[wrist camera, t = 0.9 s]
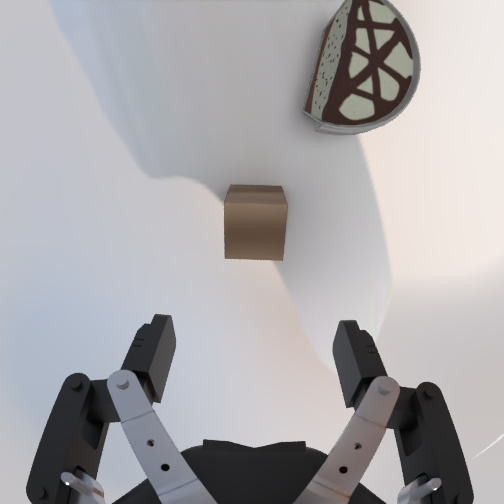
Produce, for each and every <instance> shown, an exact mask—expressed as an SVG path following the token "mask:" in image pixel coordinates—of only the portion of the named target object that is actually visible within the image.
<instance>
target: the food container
mask: <svg viewBox="0 0 504 504" xmlns="http://www.w3.org/2000/svg"><path fill="white" fill-rule="evenodd" d="M420 71H421V63H420V54H419V49H418V45H417V42H416V40H415V37H414V34H413V32H412V30H411V28H410V26H409V25H408V23H407V21H406V20H405V19H404V17H403V16H402V14H401V13H400V12H399V11H398V10H397V9H396V8H395V7H394V6H393V4H391V3H390V2H389V1H388V0H345V1H344V2H343V4H342V5H341V6H340V8H339V9H338V10H337V12H336V13H335V14H334V16H333V17H332V19H331V20H330V21H329V23H328V24H327V25H326V27H325V28H324V31H323V35H322V39H321V42H320V46H319V50H318V54H317V58H316V62H315V65H314V69H313V73H312V77H311V80H310V84H309V88H308V92H307V95H306V99H305V103H304V107H303V110H302V112H303V113H304V114H306V115H308V116H309V117H311V118H312V119H314V120H315V121H317V122H318V123H320V124H321V126H320V127H318V128H316V129H315V131H317V132H321V133H326V134H334V135H352V134H359V133H363V132H367V131H370V130H372V129H375V128H378V127H380V126H383V125H385V124H387V123H388V122H390V121H392V120H393V119H395V118H396V117H397V116H398V115H399V114H400V113H402V112H403V110H404V109H405V108H406V107H407V105H408V104H409V102H410V101H411V99H412V97H413V95H414V94H415V92H416V89H417V86H418V83H419V79H420Z"/></svg>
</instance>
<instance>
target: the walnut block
mask: <svg viewBox="0 0 504 504" xmlns="http://www.w3.org/2000/svg"><path fill="white" fill-rule="evenodd" d="M287 208H288V204H287V201H286V198H285V195H284V192H283V189H282V186H264V185H230V188H229V190H228V193H227V196H226V199H225V202H224V236H225V237H224V241H225V242H224V243H225V259H253V260H283V255H284V244H285V232H286V220H287Z"/></svg>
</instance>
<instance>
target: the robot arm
mask: <svg viewBox="0 0 504 504" xmlns="http://www.w3.org/2000/svg"><path fill="white" fill-rule="evenodd" d="M175 348H176V337H175V332H174V327H173V322H172V317H171V315H161V314H155V315H154V318H153V320H152V322H151V324H144V325H143V326H142V327H141V328H140V329H139V330H138V331H137V333H136V335H135V337H134V340H133V342H132V344H131V346H130V349H129V351H128V353H127V355H126V358H125V360H124V363H123V365H122V367H121V369H120V370H119V371H116V372H114V373H113V374H111V375H110V376H109V378H108V379H105V380H93V381H92V380H91V381H90V380H89V378H88V377H87V376H86V375H85V374H83V373H74V374H72V375H70V376H68V377H67V378H66V379H65V381H64V383H63V385H62V388H61V390H60V392H59V394H58V397H57V399H56V402H55V404H54V406H53V409H52V411H51V414H50V416H49V419H48V421H47V424H46V427H45V429H44V432H43V435H42V438H41V441H40V443H39V446H38V449H37V452H36V455H35V458H34V461H33V465H32V468H31V471H30V475H29V478H28V482H27V486H26V493H27V496H28V499H29V500H30V502H31V503H32V504H105V501H104V491H103V488H102V486H101V485H100V484H99V483H98V482H97V481H96V477H97V472H98V467H99V463H100V459H101V455H102V451H103V446H104V442H105V439H106V435H107V431H108V427H109V423H110V422H122V423H121V425H122V428H123V430H124V432H125V434H126V436H127V439H128V441H129V443H130V445H131V447H132V449H133V451H134V453H135V455H136V457H137V459H138V461H139V463H140V465H141V467H142V468H143V470H144V472H145V474H146V476H147V477H148V478H147V479H146V480H144V481H143V482H142V483H140V484H139V485H138V486H136V487H135V488H133V489H132V490H131V491H129V492H128V493H126V494H125V495H124V496H122V497H121V498H119V499H118V500H116V501H115V502H114V503H112V504H386V503H385V502H384V501H382V500H381V499H380V498H378V497H377V496H376V495H375V494H373V493H372V492H371V491H370V490H368V489H367V488H366V487H365V486H364V485H362V484H361V483H360V482H359V481H360V480H361V478H362V476H363V475H364V473H365V471H366V469H367V467H368V466H369V464H370V462H371V460H372V458H373V456H374V454H375V452H376V450H377V449H378V446H379V445H380V443H381V440H382V438H383V436H384V434H385V432H386V429H387V428H389V429H394V434H395V438H396V443H397V447H398V451H399V457H400V461H401V467H402V472H403V477H404V483H405V487H403V489H401V491H400V492H399V495H398V502H397V504H472V503H473V499H474V494H473V490H472V485H471V481H470V477H469V473H468V469H467V466H466V462H465V458H464V455H463V452H462V449H461V446H460V442H459V439H458V436H457V433H456V430H455V427H454V424H453V421H452V418H451V416H450V413H449V410H448V408H447V405H446V402H445V400H444V397H443V395H442V392H441V390H440V389H439V387H438V386H437V385H435V384H434V383H431V382H423V383H421V384H420V385H419V386H418V387H417V388H416V389H414V388H407V387H401V386H399V385H398V383H397V382H396V381H395V380H394V379H393V378H391V377H388V375H387V373H386V371H385V368H384V366H383V363H382V360H381V358H380V355H379V353H378V350H377V348H376V347H375V343H374V341H373V338H372V336H371V335H370V334H369V333H368V332H367V331H366V330H360V329H359V326H358V324H357V322H356V320H341V321H340V322H339V325H338V328H337V332H336V335H335V338H334V342H333V356H334V360H335V364H336V368H337V372H338V376H339V380H340V384H341V388H342V392H343V396H344V400H345V405H346V408H350V407H354V409H355V413H354V414H353V416H352V418H351V420H350V421H349V423H348V425H347V426H346V428H345V430H344V431H343V433H342V435H341V436H340V438H339V439H338V441H337V442H336V444H335V445H334V447H333V448H332V450H331V451H330V453H329V454H328V455H327V454H325V453H323V452H321V451H318V450H316V449H313V448H309V447H306V443H305V441H298V442H279V443H275V444H271V445H266V446H262V447H257V448H253V447H248V446H244V445H240V444H236V443H233V442H229V441H217V440H206V439H205V440H203V445H200V446H195V447H191V448H189V449H186V450H184V451H182V452H179V451H178V449H177V448H176V446H175V444H174V443H173V441H172V440H171V438H170V436H169V435H168V433H167V431H166V430H165V428H164V426H163V425H162V423H161V421H160V419H159V418H158V416H157V414H156V412H155V411H154V410H153V408H152V404H153V402H157V403H161V399H162V395H163V391H164V388H165V384H166V381H167V377H168V373H169V370H170V366H171V363H172V359H173V356H174V352H175Z"/></svg>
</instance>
